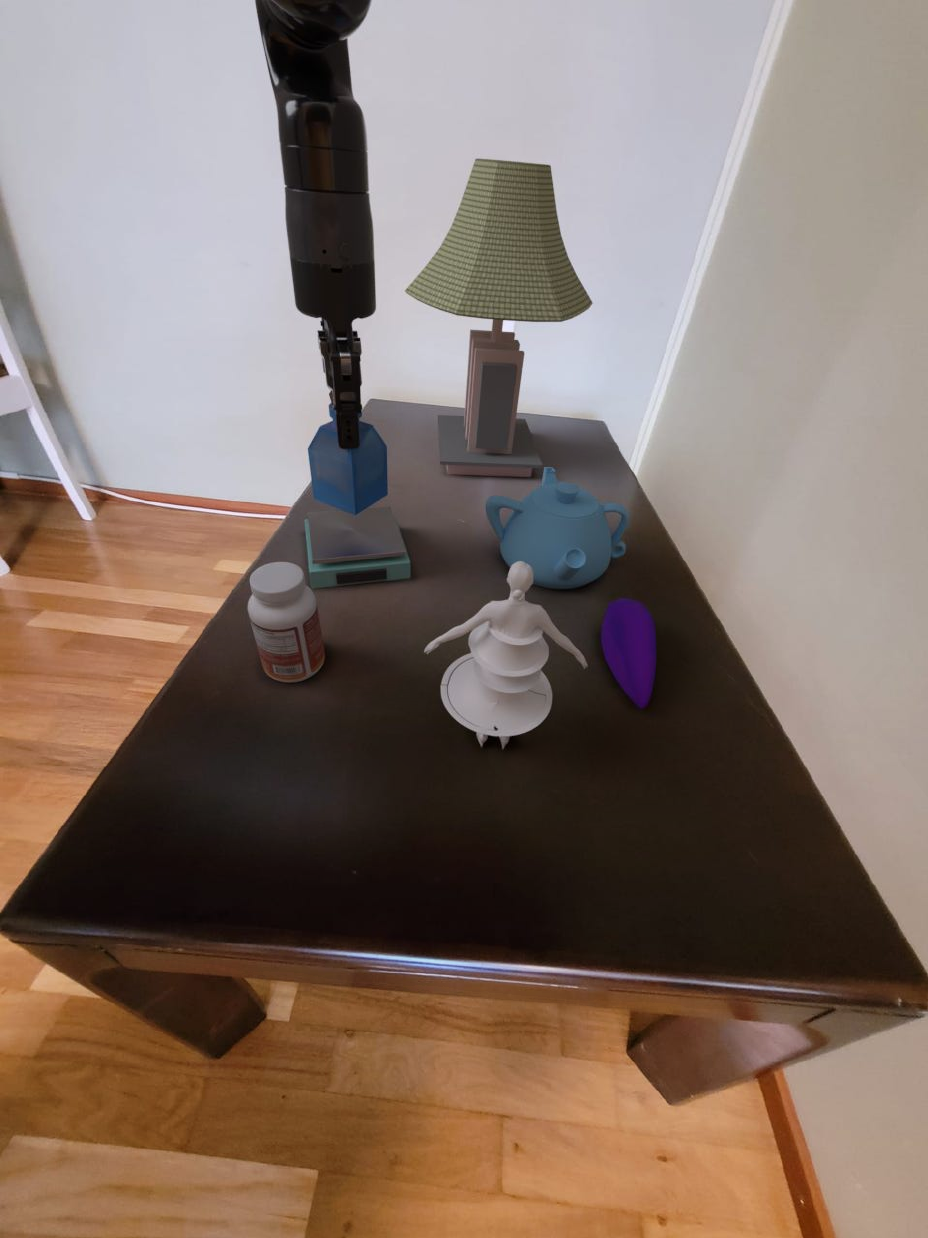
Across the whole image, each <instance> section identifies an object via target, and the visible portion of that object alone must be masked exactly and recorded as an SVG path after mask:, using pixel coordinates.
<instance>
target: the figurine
mask: <svg viewBox="0 0 928 1238" xmlns="http://www.w3.org/2000/svg"><path fill="white" fill-rule="evenodd" d="M506 583H507V584H508V585H509V588H510V592H509V597H508V599H504V600H490V602H488V603H487V604H484V606H482V608H481V609H480V610H479V611H478V612H477V613H476V614H474V615H473V616H472V617H471V618H469V619H468V620H466V621H465V622H464V623H461V624H460V625H457V626H454V627H452V628H451V629H449V630H448V631H446V632H445V633H443V634H442V635H440V636H437V637H436V638H434V640H432V641H430V642H429V643H428V644H427V645H425V646H426V647H425V648H424V651H423V653H426V655H429V654H430V653H431V652H432V651H434V650H436V649H437V648H438V647H440V644H442V643H446V642H448V641H451V640H455V639H458V638H460V637H462V636H464V635H466V634H467V633H469V632H470V634H469V636H468V639H467V640H468V641H467V644H468V645H467V646H468V647H469V649H470V653H466V654H465V655H462V656H461V657H458V658H457V659H456V660H454V661H453V662H452V663H451V664H450V665H448V667H447V668H446V669H445V671H444V673H443V676H442V679H441V682H440V698H441V701H442V703H443V706H444V708H445V709H446V711H447V712H448V713H449V715H450V716H451V717H452V718H453V719H454V720H455V721H457V722H458V723H459V724H460V725H462V726H463V727H465V728H467V729H468V730H471V731H472V732H475V733H476V738H477V740H478V742H479V744H480V748H483V746H484V743H485V742H486V741H487V740H488V738H489V737H488V736H491V737H498V738H499V740H500V744H501V749H502V750H504V749H505V747H506V745H507V744H508V743H509V741H510V737H512V736H513V737H514V736H518V735H522V734H525V733H527V732H529V731H532V730H533V729H535V728H536V727H538V726H539V725H541V724H542V723H543V722H544V720H545V719H546V718H547V717H548V715H549V714H550V712H551V709H552V704H553V690H552V687H551V684H550V681H549V679H548V677H547V676H546V675H545V673H544V672H543V670H542V668H543V667H544V666H546V665H545V664H546V663H547V661H548V659H549V656H550V649H549V645H548V643H547V642H546V640H545V638H544V636H543V634H544V633H545V634H546V635H547V636H549V637H550V638H551V639H552V640H553V641H554V642H555V643H556V644H557V645H558V646H559V647H561V648H562V649H564V650H565V651H567V652H568V653H571V654H572V655H574V659H576V660H577V661H578V663H580V664H581V666H582V668H583V669H584V670H585V669H586V668H588V663H587V660H586V658H585V656H584V655H583V654H582V652H581V650H579V649H578V648H577V647H576V645H574V644H573V642H572V641H571V640H570V638H569V637H567V636H566V635H564V634H563V633H562V632H560V630H559V629H558V628H557V627H556V625H555V624H554V623H553V621H552V620H551V618H550V616H549V614H548V612H547V611H546V609H544V608H543V606H542V605H540V604H535V603H531V602H528V601H527V600H526V592H528V591H529V590H530V589H531V586H533V585H534V584H533V570H532V568H531V567H530V565H528V564H526V563H525V562H523V561H518V562H516V563H514V564H512V566H511V568H510V567H509V571H508V573H507V577H506ZM495 728H496V729H495Z"/></svg>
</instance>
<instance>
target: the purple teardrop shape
mask: <svg viewBox="0 0 928 1238" xmlns="http://www.w3.org/2000/svg"><path fill="white" fill-rule="evenodd" d="M606 607H607V608H606V610H605V612H604V615H603V619H602V624H601V631H600V641H601V648H602V651H603V655H604V659H605V661H606V663H607V665H608V667H609V669H610V671H611V673H612V675H613V677H614V679H615V680H616V682H617V683H618V685H619V687H620V688H621V689H622V690H623V693H625V694H626V695H627V696H628V697H629V699H630V700H631V701H632V702H633V703H634V704H635V705H636V706H637V707H638V708H639V709H641V710H642V709H645V708H646V707H647V706H648V705H649V702H650V700H651V696H652V693H653V688H654V683H655V677H656V669H657V633H656V625H655V620H654V618H653V615H652V613H651V612H650V610H649V609H648V608H647V607H646V606H645V604H643V603H642V602H641V601H638V600H635V599H631V598H624V597H621V598H617V599H616V600H613V601H610V602H608V604H607V606H606Z"/></svg>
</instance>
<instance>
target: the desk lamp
mask: <svg viewBox="0 0 928 1238" xmlns="http://www.w3.org/2000/svg"><path fill="white" fill-rule="evenodd" d="M404 292H405V293H406V294H407V295H409V296H410V297H412V298H413V299H415V300H416V301H418V302H420V303H422V304H425V305H427V306H429V307H432V308H434V309H437V310H438V311H441V312H445V313H448V314H451V315H455V316H457V317H458V316H459V317H466V318H475V319H483V320H492V324H491V326H492V327H491V330H481V329H469V342H468V343H469V344H468V354H467V355H468V356H467V357H468V358H467V372H466V373H467V374H466V386H465V389H466V390H465V399H464V416H463V415H447V414H446V415H445V414H437V433H438V451H439V453H438V454H439V465H440V466H446V474H447V475H460V476H461V475H462V476H463V475H465V476H489V477H491V476H493V477H494V476H496V477H517V478H518V477H519V478H532V473H533V469H540V470H541V469H543V468H544V467H543V466H544V464H543V462H542V458H541V457H540V454H539V451H538V448H537V446H536V443H535V440H534V439H533V435H532V432H531V430H530V427H529V425H528V422H527V420H526V418H517V414H518V406H519V398H520V390H521V384H522V376H523V368H524V359H525V351H524V350H520V347H521V343H520V342H519V341H520V340H519V339H516V338H515V337H516V333H515V332H514V331H503V326H504V321H511V322H527V323H528V322H529V323H562V322H565V321H569V320H571V319H574V318H576V317H577V316H579V315H581V314H584V313H585V312H587V311H588V310H589V309H590V308H591V307H592V305H593V303H594V302H593V301H592V299H591V297H590V296H589V293H588V292H587V290H586V289H585V286H584V285H583V283H582V282H581V279H580V278H579V277H578V275H577V273H576V270H575V268H574V266H573V265H572V262H571V260H570V258H569V255H568V252H567V248H566V246H565V242H564V239H563V237H562V233H561V226H560V222H559V215H558V212H557V204H556V196H555V188H554V179H553V172H552V166H551V165H550V164H545V163H534V162H525V161H524V162H523V161H512V160H503V159H492V158H491V159H489V158H475V159H474V162H473V165H472V168H471V171H470V174H469V177H468V180H467V183H466V185H465V189H464V192H463V194H462V198H461V201H460V204H459V206H458V208H457V210H456V214H455V216H454V217H453V221H452V223H451V226H450V228H449V230H448V232H447V233H446V236H445V237H444V239H443V240H442V243H441V244H440V245H439V248H438V249H437V250H436V252H435V253H434V254H433V256H432V257H431V259H430V260H429V261H428V262H427V264H426V265H425V266H424V267H423V268H422V270H421V271H420V272H419V274H417V275H416V277H415V278H414V279H413V280H412V282H411V283H410V284H409V285H408V286H407V287H406V289H405V290H404Z"/></svg>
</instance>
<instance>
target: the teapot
mask: <svg viewBox="0 0 928 1238" xmlns="http://www.w3.org/2000/svg"><path fill="white" fill-rule="evenodd" d="M501 509H509V510H511V511H512V512H511V513H510V515H509V516H508V518H507V520H506V521H505V524H504V527H503V524H502V522H501V516H500V510H501ZM605 513H607V514H608V513H616V514H619V515H620V516H621V517H620V521H619V523H618V525H617V526H616V528H615V530H614V532H613V533H612V532H611V529H610V526H609V522H608V519H607V517H606V514H605ZM485 514H486V517H487V519H488V522H489V523H490V526H491V527H492V529H493V531H494V533H495V534H496V536H497V538H498V539H499V550H500V554H501V556H502V559H503V560H504V561H505V563H506V564H507V566H508V567H509V569H510V568H511V566H512V564H514V563H516V562H518V561H523V562H525V563H526V564H528V565H530V567H531V568H532V570H533V584H532V585H535V586H538V587H542V588H546V589H552V590H572V589H576V588H581V587H584V586H585V585H587V584H589V583H591V582H594V581H595V580H597V579H598V578H600V577H601V576H602V575H603V574H604V573H605V572H606V571H607V569H608V568H609V565H610V562H611V559H619V558H621V557H623V556H624V555H625V553H626V550H627V546H626V543H625V542H624V541H623V540H621V538H622V537H623V535H624V534H625V532H626V531H627V529H628V525H629V524H630V523H629V522H630V515H629V512H628V510H627V509H626V507H624V506H623V505H621V504H619V503H616V502H604V503H602V504H600V501H599V500H598V498H596V496H595V495H594V494H592V493H591V492H589V491H588V490H586V489H584V488H581V487H580V486H578V485H577V484H575V483H573V482H569V481H560V482H558V479H557V475H556V470H555V469H554V467H553V466H552V467H551V466H548V467H547V466H544V467H543V473H542V480H541V485H540V486H538V487H536V488H534V489H533V490H531V492H530V493H528V494H527V495H526V496H525V497H524V498H523V499H522V500H521V501H519V500H516V499H513V498H510V497H507V496H503V495H491V496H490V497H488V498H487V499H486V502H485ZM611 533H612V534H611ZM616 547H618V548H616ZM615 548H616V549H615Z"/></svg>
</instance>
